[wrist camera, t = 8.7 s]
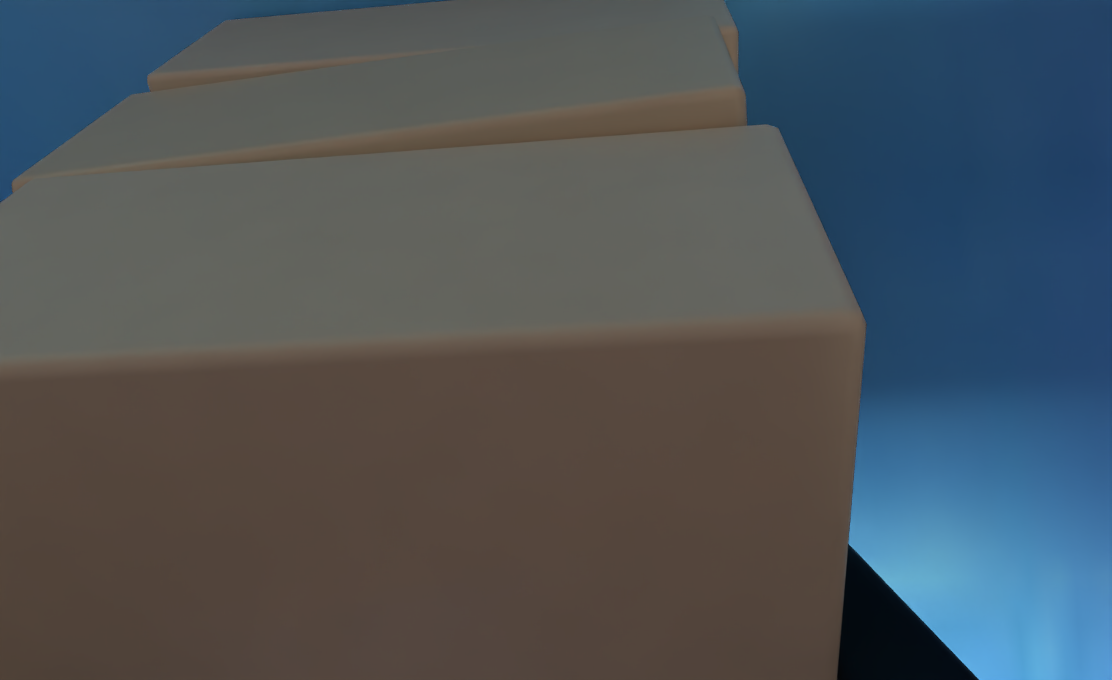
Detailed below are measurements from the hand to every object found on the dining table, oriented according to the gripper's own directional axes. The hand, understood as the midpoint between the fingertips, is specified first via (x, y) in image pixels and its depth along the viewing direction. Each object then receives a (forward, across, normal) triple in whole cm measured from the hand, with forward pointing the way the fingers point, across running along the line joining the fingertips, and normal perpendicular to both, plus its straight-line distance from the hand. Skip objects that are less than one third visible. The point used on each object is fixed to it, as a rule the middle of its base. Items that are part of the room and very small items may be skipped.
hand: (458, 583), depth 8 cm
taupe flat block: (0, 0, 0) cm, 1 cm away
